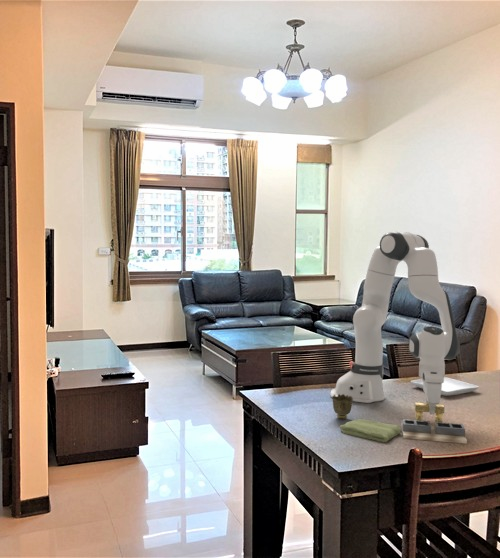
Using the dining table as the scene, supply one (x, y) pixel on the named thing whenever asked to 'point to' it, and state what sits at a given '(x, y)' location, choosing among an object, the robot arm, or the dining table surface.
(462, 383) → the salad plate
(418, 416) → the tan bar
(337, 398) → the cup
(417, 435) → the chain board
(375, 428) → the washcloth
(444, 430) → the chain ends
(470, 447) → the dining table surface
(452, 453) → the dining table surface
